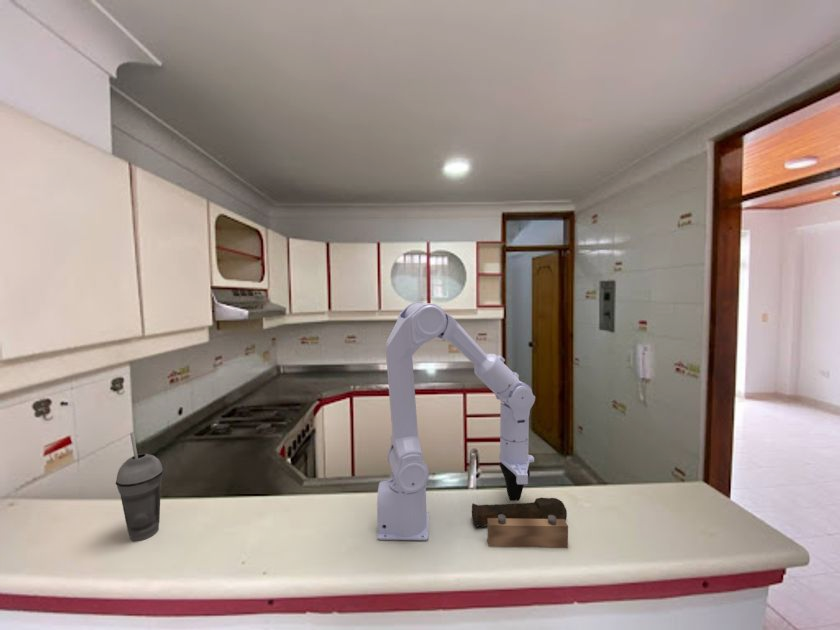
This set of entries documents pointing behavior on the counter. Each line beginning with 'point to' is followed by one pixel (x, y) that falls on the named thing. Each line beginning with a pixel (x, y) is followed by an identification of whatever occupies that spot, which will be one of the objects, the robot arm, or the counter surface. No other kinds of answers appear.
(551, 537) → the stop rail
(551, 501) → the hand tool
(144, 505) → the beverage cup
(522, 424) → the robot arm
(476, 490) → the counter surface
